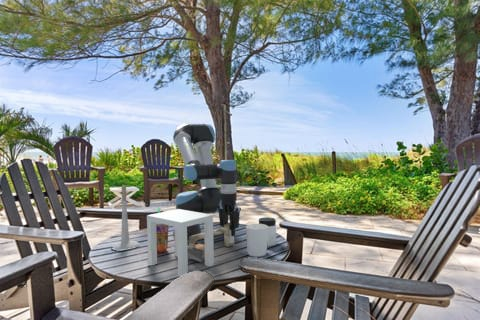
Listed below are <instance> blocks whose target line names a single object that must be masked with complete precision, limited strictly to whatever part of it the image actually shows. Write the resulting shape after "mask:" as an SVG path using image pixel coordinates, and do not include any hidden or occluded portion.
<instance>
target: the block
mask: <svg viewBox="0 0 480 320" xmlns="http://www.w3.org/2000/svg"><path fill="white" fill-rule="evenodd" d="M195 248H197V249H200V250H204V260H205V244H201V243H196V244H195Z"/></svg>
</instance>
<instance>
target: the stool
mask: <svg viewBox="0 0 480 320" xmlns="http://www.w3.org/2000/svg"><path fill="white" fill-rule="evenodd" d="M156 222H157V223H161V224H165V225H169V226H171V227H174V229H173V231H175V238H174V256H175V257H177V277H178V276H181V275H183V274H185V273H187V272H188V273H189V268H188V267H189V265H188V262H189V261H188V259H189V258H188V256H187V246H188V239H187V227H188V226H191V225H195V224H199V225H200V224H202V223H203V226H204V227H203V233H204V238H203V240H204V242H203V243H204V245H205V259H204V265H205V267H206V266H207V267H212V266H215V258H214V256H215V254H214V252H215V250H214V248H215V247H214V246H215V245H214V236H213V230H214V214H213V213H212V214H206V213H200V212H194V211H188V210H182V209H176V208H175V209H172V210H167V211H162V212H161V211H160V213H158V212H157V213H151V214H147V215H146V229H147V231H146V232H147V233H146V234H147V265H148V264H150V265H154V264H157V265H158V253H157V237H156Z"/></svg>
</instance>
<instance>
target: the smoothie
mask: <svg viewBox="0 0 480 320" xmlns="http://www.w3.org/2000/svg"><path fill="white" fill-rule="evenodd" d="M157 209H158V211H157V213H161V210H160V209H161V207H158V208H157ZM169 226H170V225H165V224H161V223H157V222H156V237H157V254H163V253H162V252H164V253H166V252H167V250H168V247H169V245H168V244H169ZM165 251H166V252H165Z"/></svg>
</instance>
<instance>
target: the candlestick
mask: <svg viewBox="0 0 480 320" xmlns="http://www.w3.org/2000/svg"><path fill="white" fill-rule="evenodd" d="M128 200H129V199H128V198H127V185H125V184H122V185H121V199H120V201H121V205H122V207H121V232H120V233H121V236H120V241H117V242H115V243H113V245H111V246H112V247H113V248H115V249H128V248H133V247H137V246H138V245H139V244H140V243H139V242H138V241H136V240H130V233H129V223H128V222H129V221H128V207H127V204H128Z"/></svg>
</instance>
